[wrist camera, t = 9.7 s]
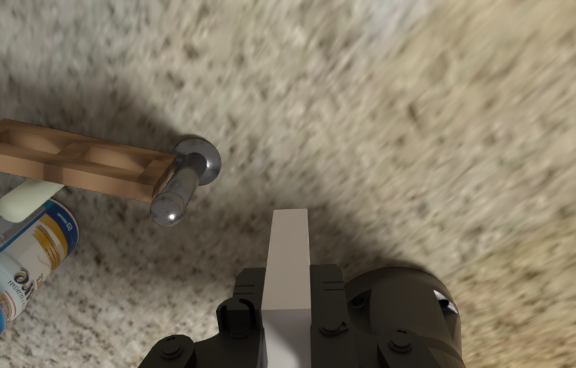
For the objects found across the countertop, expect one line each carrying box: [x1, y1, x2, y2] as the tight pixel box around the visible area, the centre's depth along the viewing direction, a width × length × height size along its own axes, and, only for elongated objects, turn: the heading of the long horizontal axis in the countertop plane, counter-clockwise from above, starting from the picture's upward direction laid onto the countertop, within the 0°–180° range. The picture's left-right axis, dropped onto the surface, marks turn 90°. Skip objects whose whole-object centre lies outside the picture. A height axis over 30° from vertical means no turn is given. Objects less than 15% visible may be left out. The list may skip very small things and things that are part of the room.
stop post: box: [0, 178, 65, 222], centre depth 39 cm, size 4×4×10 cm
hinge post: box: [150, 138, 221, 227], centre depth 37 cm, size 5×5×12 cm
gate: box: [0, 119, 176, 203], centre depth 37 cm, size 16×2×7 cm, turn 77°
